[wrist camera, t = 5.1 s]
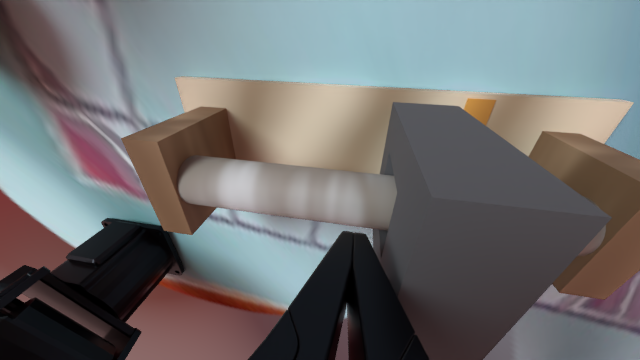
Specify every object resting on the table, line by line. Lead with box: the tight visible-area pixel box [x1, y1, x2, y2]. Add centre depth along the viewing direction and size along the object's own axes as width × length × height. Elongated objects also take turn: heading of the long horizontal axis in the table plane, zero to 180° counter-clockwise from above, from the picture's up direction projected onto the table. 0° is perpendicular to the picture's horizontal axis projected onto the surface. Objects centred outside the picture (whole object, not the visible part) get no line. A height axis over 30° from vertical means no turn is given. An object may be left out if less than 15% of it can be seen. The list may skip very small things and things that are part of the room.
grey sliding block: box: [373, 102, 612, 360], centre depth 9 cm, size 3×7×8 cm, turn 179°
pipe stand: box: [121, 76, 640, 300], centre depth 11 cm, size 22×8×6 cm, turn 89°
